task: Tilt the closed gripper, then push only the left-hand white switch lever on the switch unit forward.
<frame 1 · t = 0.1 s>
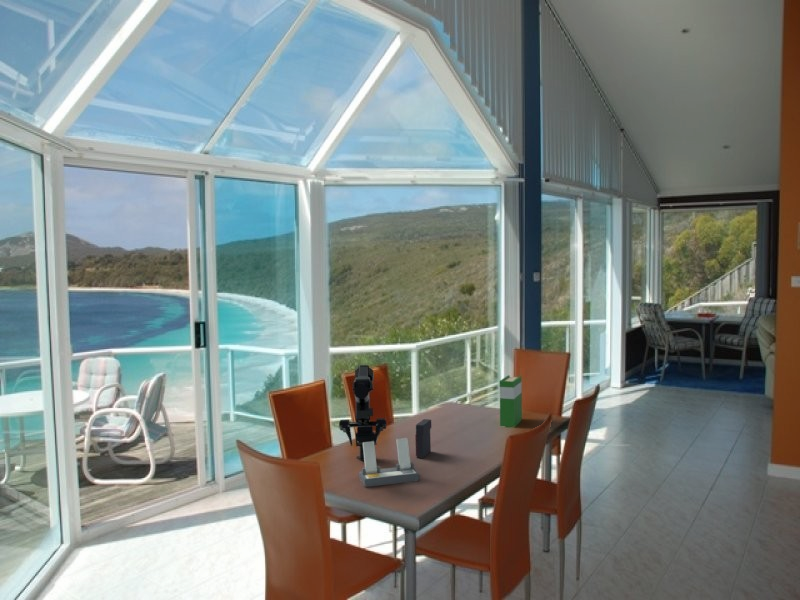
hand: (363, 445, 249), 15 cm above the table, tool tilted 35°, fingers open, 9 cm apart
lever slate: (403, 453, 257), point 9 cm above the table, hinge at -20.0°
dark gray upright box: (423, 455, 285), on the table
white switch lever: (369, 457, 253), point 9 cm above the table, hinge at -20.0°
switch unit: (388, 478, 254), on the table
hardback book: (511, 423, 337), on the table
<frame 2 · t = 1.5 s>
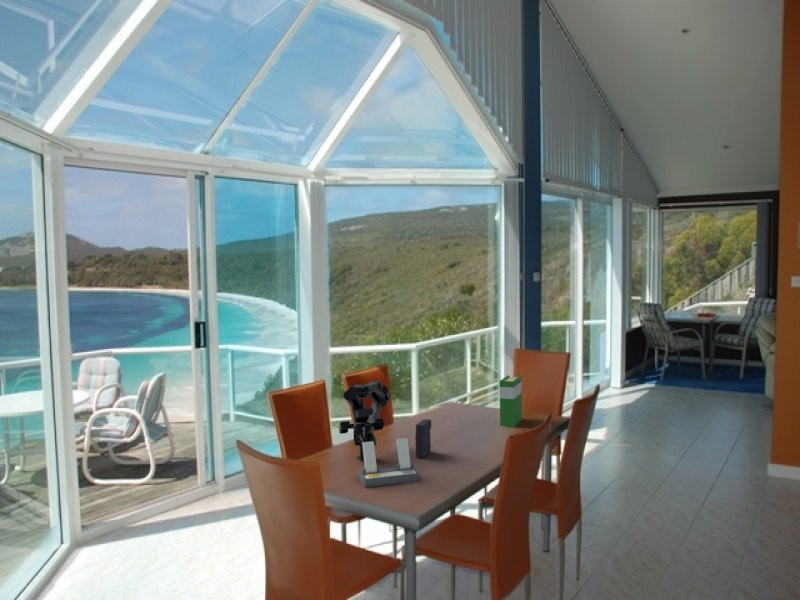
hand: (365, 443, 261), 12 cm above the table, tool tilted 45°, fingers closed
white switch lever: (369, 457, 253), point 9 cm above the table, hinge at -23.3°
everything else where it was.
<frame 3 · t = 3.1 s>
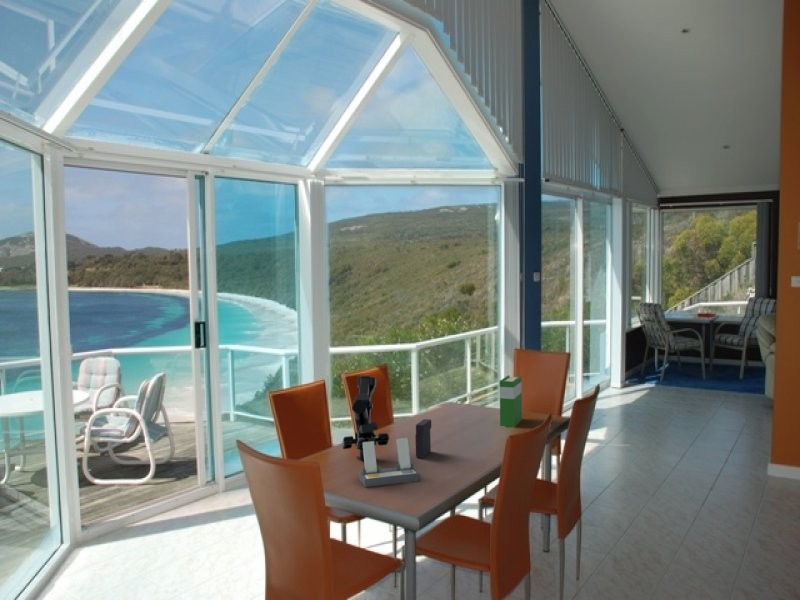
hand: (369, 459, 254), 8 cm above the table, tool tilted 45°, fingers closed, pressing on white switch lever
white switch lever: (369, 457, 253), point 9 cm above the table, hinge at -21.0°, touching gripper
everything else where it was.
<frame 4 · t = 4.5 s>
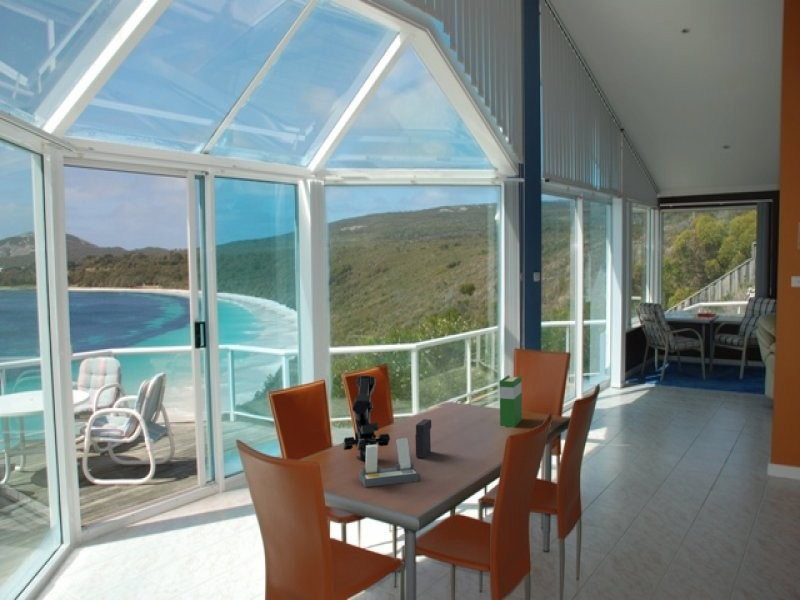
hand: (370, 460, 253), 8 cm above the table, tool tilted 45°, fingers closed
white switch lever: (371, 459, 250), point 9 cm above the table, hinge at 16.3°
everything else where it was.
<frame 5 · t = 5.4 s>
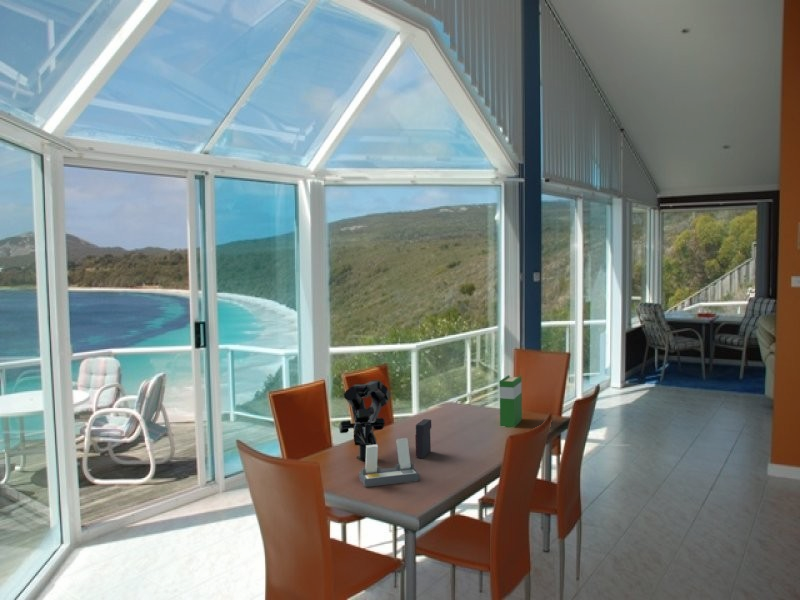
hand: (365, 443, 261), 13 cm above the table, tool tilted 45°, fingers closed
nothing on the table moved.
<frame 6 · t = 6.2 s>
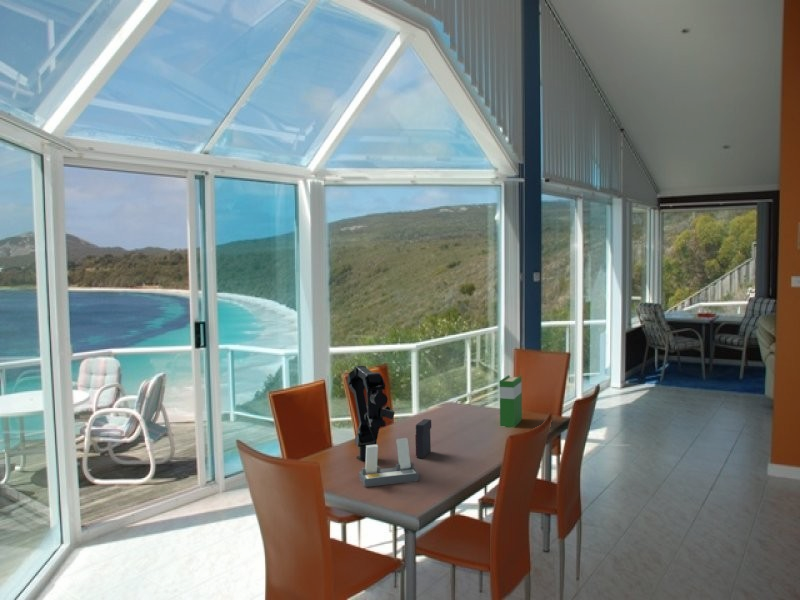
hand: (375, 439, 267), 12 cm above the table, tool pointing down, fingers closed
nothing on the table moved.
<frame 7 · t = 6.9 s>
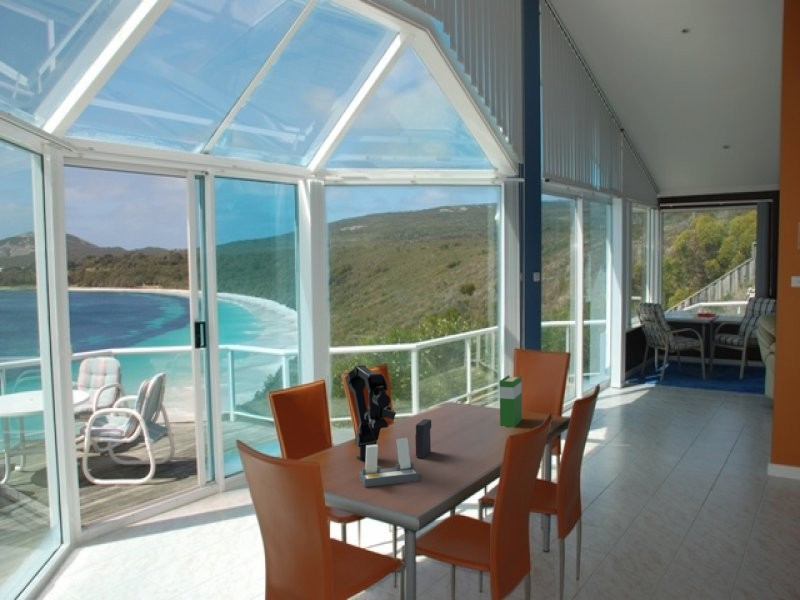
hand: (376, 439, 267), 12 cm above the table, tool pointing down, fingers closed
nothing on the table moved.
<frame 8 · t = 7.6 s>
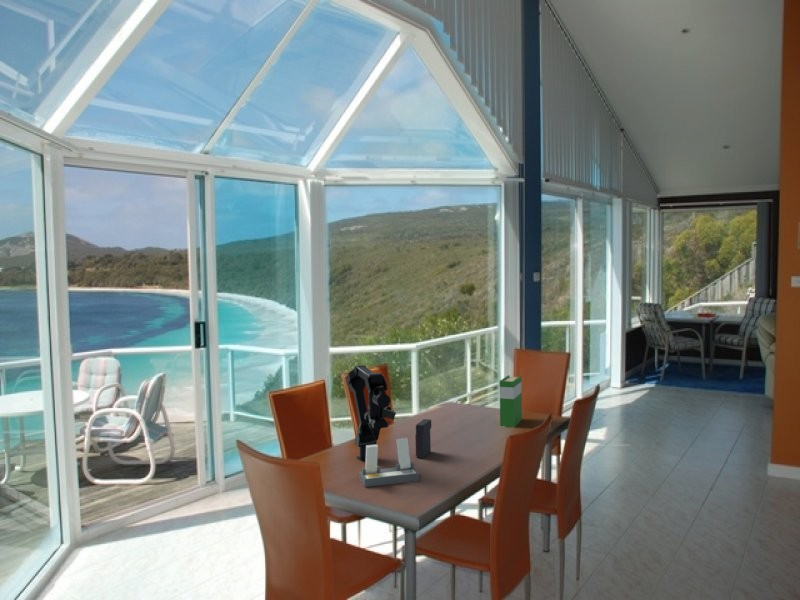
hand: (376, 439, 267), 12 cm above the table, tool pointing down, fingers closed
nothing on the table moved.
at the end: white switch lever at +16° (first picture: -20°); lever slate at -20° (first picture: -20°) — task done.
